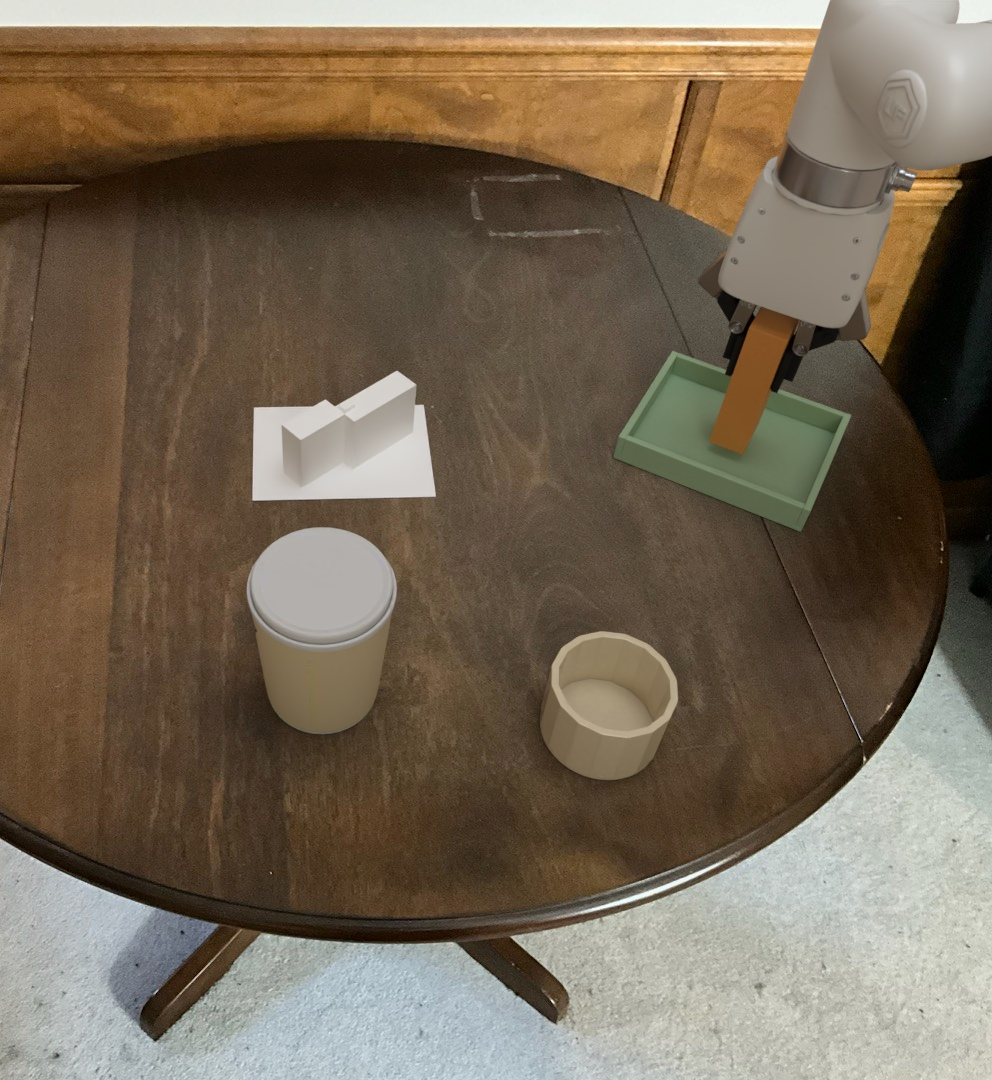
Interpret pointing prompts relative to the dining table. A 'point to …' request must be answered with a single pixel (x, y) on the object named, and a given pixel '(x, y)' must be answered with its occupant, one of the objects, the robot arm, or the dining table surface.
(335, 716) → the coffee cup
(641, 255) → the dining table surface
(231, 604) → the dining table surface
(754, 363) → the orange rectangular bar
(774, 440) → the tray
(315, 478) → the napkin holder
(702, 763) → the dining table surface
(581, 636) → the cup
